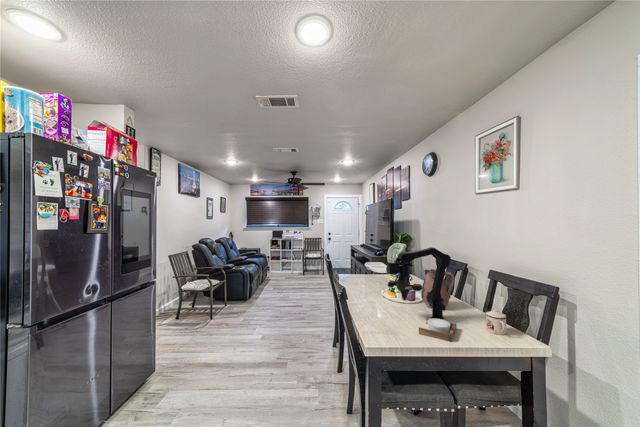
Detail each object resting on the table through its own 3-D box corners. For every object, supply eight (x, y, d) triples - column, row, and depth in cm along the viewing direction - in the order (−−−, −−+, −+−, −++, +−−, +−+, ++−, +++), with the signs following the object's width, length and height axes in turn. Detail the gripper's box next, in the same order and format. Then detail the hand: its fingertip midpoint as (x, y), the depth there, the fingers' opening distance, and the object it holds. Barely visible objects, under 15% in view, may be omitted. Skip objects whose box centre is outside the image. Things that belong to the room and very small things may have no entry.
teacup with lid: (482, 327, 139) (482, 306, 140) (500, 328, 138) (499, 306, 139) (495, 337, 128) (494, 314, 128) (514, 338, 127) (514, 314, 127)
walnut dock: (426, 323, 146) (426, 317, 146) (456, 329, 137) (456, 323, 138) (418, 334, 132) (418, 328, 132) (451, 341, 123) (450, 335, 124)
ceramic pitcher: (422, 301, 186) (421, 267, 187) (454, 305, 176) (454, 269, 177) (420, 309, 170) (419, 271, 171) (456, 313, 161) (455, 274, 162)
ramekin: (442, 339, 127) (442, 328, 127) (422, 331, 136) (422, 321, 136) (455, 333, 132) (454, 323, 133) (435, 326, 142) (435, 316, 142)
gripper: (384, 274, 151) (384, 300, 150) (416, 278, 140) (417, 306, 139) (391, 271, 160) (391, 296, 159) (421, 274, 149) (422, 301, 148)
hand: (404, 300), depth 151 cm, fingers closed
